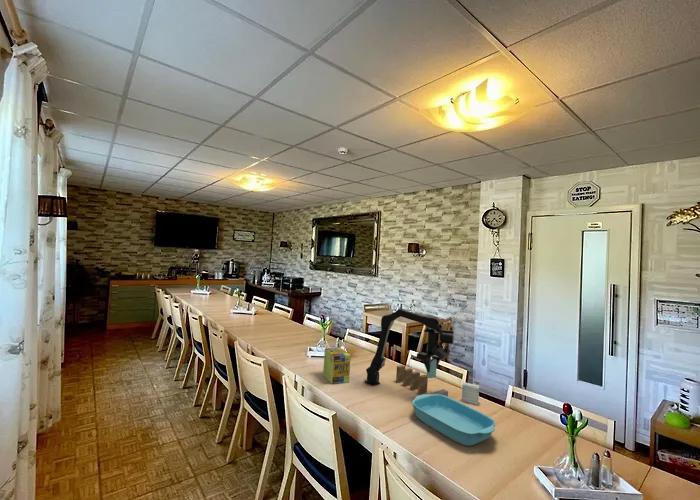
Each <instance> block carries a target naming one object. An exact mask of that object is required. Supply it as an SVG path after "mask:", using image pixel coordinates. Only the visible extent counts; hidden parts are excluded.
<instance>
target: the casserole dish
mask: <svg viewBox="0 0 700 500" xmlns="http://www.w3.org/2000/svg"><path fill="white" fill-rule="evenodd" d="M411 405H412V407H413V409H414V410H413V411H414V414H415V415H416V417H417V419H419V420H420V421H421V422H422V423H424V424H425V425H427V426H429V427H431V428H432V429H433V430H435V431H437V432H439V433H440V434H442V435H444V436H446V437H447V438H449V439H451V440H452V441H454V442H456V443H458V444H460V445H462V446H465V447H469V446H474V445H476V444H479V443H482V442H483V441H486V440H488V439H489V438H490V437H491V436H492V433H493V432H494V431H495V429H496V427H495V426H496V421H495V420H494V419H493V418H492V417H490V416H489V415H487V414H485V413H483V412H481V411H478V410H477V409H474V408H473V407H470V406H468V405H466V404H465V403H463V402H460V401H459V400H456V399H454V398H452V397H449V396H448V397H447V396H444V395H440V394H431V393H430V394H427V393H424V394H419V395H417V396H415V398H414V399H413V400H412V402H411Z"/></svg>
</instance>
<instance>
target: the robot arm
mask: <svg viewBox="0 0 700 500" xmlns="http://www.w3.org/2000/svg"><path fill="white" fill-rule="evenodd" d="M400 317H401V318H404V319H407V320H410V321H413V322H416V323H420V324H421V325H424V326H426V328H425V329H424V330H423V331H424V333H427V340H426V341H425V345H426V349H425V352H424V351H423V352H422V351H420V352H417V353H416V359H418V360H420V361H422V362H423V364H424V367H425V371H426V373H427V372H430V365H431V362H432V361H433V360H431V359H436V360H437V365H436V370H437V369H438V366H439V365H440V364H439V363H440V361H441V360H442V361H443V360H446V359H447V358H448V356H450V349H449V348H448V347H445V348H443V347H442V345H441V343H442V344H448V345H449V344H450V345H454V342H455V336H454V335H455V332H454V330H453V329H452V330H450V329H444V327H443V326H442V324H441V319H440V318H439V317H438V316H433V315H432V316H431V315H423V314H419V313H417V312H413V311H409V310H406V309H404V308H398V309H397V310H396V311H394V312H392V313H391V314H390V313H387V314H385V315H383V316H382V317H381V319H380V320H381V321H380V328H381V329H380V330H381V331H380V334H379V335H380V336H379V340H378V342H377V347H376V351H375V352H376V353H375V354H374V355H373V358H372V360H371V362H370V366H368V367H367V368H366V369H365V371H366V380H365V381H364V383H366V384H367V385H369V386H372V387H373V386H378V385H380V384H381V382H380V370H382V368H383V367H384V366H385V365H386V364H385V363H386V360H387V358H386V357H385V355H384V354H385V349H386V346H387V341H388V338H389V337H388V336H389V334H390V330H391V328H392V326H393V325H394V322H395V320H397V319H398V318H400ZM439 341H440V342H441V343H440V342H439Z"/></svg>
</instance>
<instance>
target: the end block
mask: <svg viewBox="0 0 700 500" xmlns="http://www.w3.org/2000/svg"><path fill="white" fill-rule="evenodd" d="M430 394H440V395H444V396H447V397H449V391H448V390H446V389H444V388H443V389H439V390H436V391H433V392H430Z"/></svg>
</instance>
